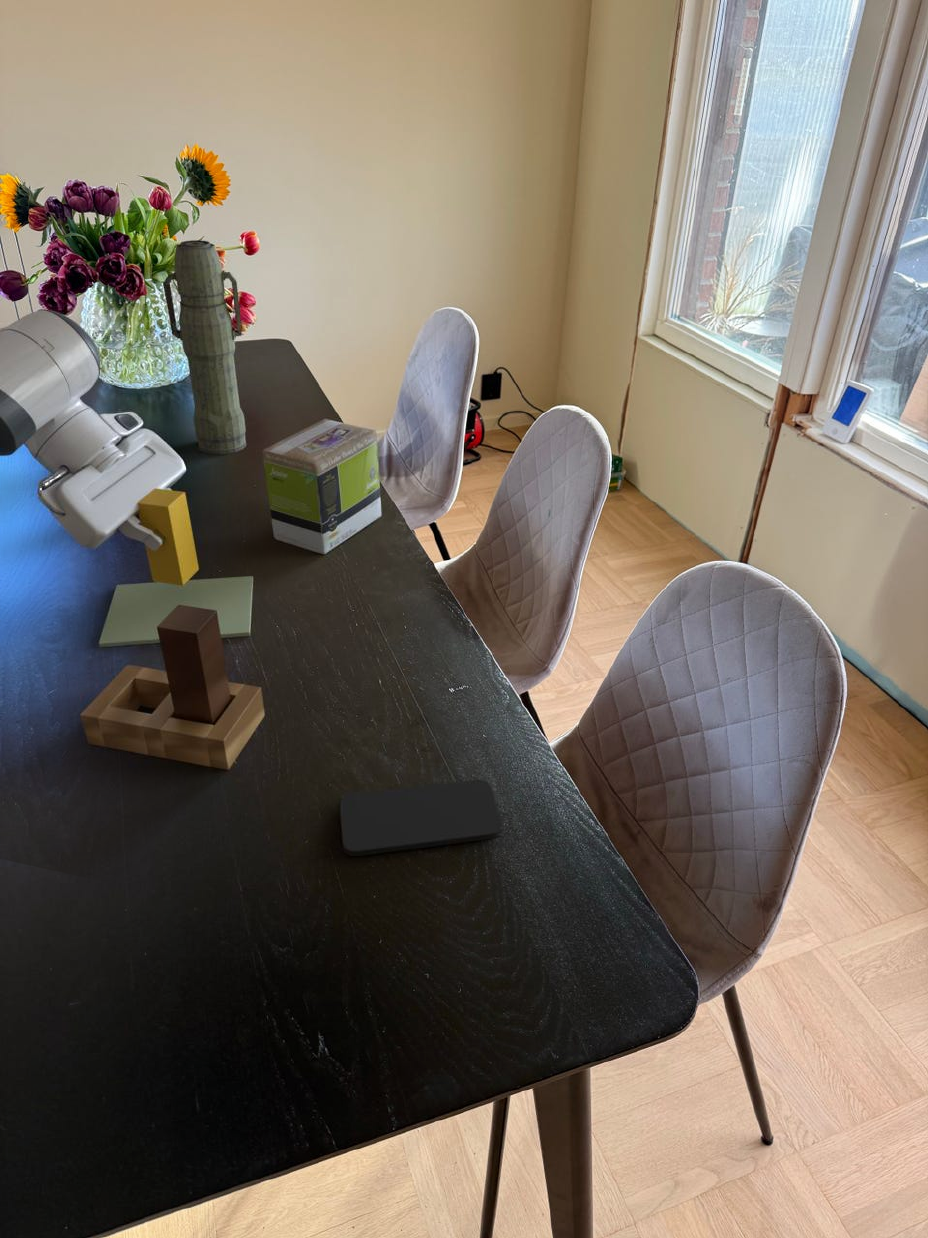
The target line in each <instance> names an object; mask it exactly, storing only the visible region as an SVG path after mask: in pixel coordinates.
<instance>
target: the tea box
mask: <svg viewBox="0 0 928 1238" xmlns="http://www.w3.org/2000/svg"><path fill="white" fill-rule="evenodd" d="M262 456H263V457H262V459H263V466H264V473H265V479H266V489H267V494H268V503H269V511H270V518H271V526H272V533H273V538H274V539H275V540H277V541H279V542H283V543H285V544H289V545H292V546H295V547H297V548H301V549H304V550H307V551H311V552H314V553H318V554H321V555H326V554H327V553H329V552H330V551H332V550H333V549H335V548H336V547H338V546H339V545H340V544H342V543H343V542H345V541H347V540H348V539H349V538H351V537H352V536H354V535H356V534H357V533H359V532H360V531H362V530H363V529H364V528H365V527H366V528H367V526H369V525H370V524H371V523H374V521H376V520H378V519H379V518H381V517H382V500H381V486H380V485H381V484H380V482H381V481H380V467H379V466H380V465H379V453H378V437H377V430H376V429H372V428H368V427H362V426H358V425H353V424H350V423H345V422H340V421H336V420H331V419H328V418H324V419H322V420H319V421H318V422H316V423H313V424H312V425H310V426H308V427H305V428H304V429H302V430H300V431H298V432H296V433H294V434H292V435H290V436H288V437H286V438H284V439H282V440H280V441H278V442H276V443H274V444H272V445H271V446H269V447H266V448H264V449H262Z"/></svg>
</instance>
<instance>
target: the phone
mask: <svg viewBox="0 0 928 1238" xmlns="http://www.w3.org/2000/svg"><path fill="white" fill-rule="evenodd" d="M499 812H500V811H499V809H498V805H497V802H496V798H495V794H494V792H493V788H492V785H491V784H490V783H489V781H487V780H484V779H471V780H461V781H454V782H445V783H438V784H436V783H435V784H430V785H429V784H428V785H421V786H410V787H403V788H395V789H387V790H378V791H369V792H360V793H353V794H348V795H345V796H343V797H342V798H341V799H340V801H339V818H340V819H339V821H340V831H341V842H342V850H343V852H344V853H345V854H346V855H348V856H350V857H363V856H369V855H377V854H384V853H392V852H402V851H407V850H415V849H424V848H430V847H439V846H447V845H453V844H454V845H456V844H463V843H470V842H477V841H485V840H492V839H495V838H497V837H499V836H500V835H501V833H502V830H503V829H502V827H503V824H502V820H501V816H500V813H499Z"/></svg>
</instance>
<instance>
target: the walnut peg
mask: <svg viewBox="0 0 928 1238" xmlns="http://www.w3.org/2000/svg"><path fill="white" fill-rule="evenodd" d="M157 630H158V635H159V640H160V643H159V644H160V649H161V654H162V658H163V659H162V660H163V663H164V667H165V671H166V674H167V678H168V683H169V688H170V693H171V697H172V702H173V707H174V712H175V717H176V719H182V720H188V721H193V722H199V723H204V724H210V725H215V724H216V723H217V721H218V720H219V719H220V717H221V716H222V714H223V713H224V712H225V710H226V709H227V708H228V706H229V705H230V703H231V696H230V690H229V684H228V682H229V677H228V671H227V665H226V659H225V653H224V647H223V641H222V638H221V634H220V627H219V621H218V615H217V610H211V609H204V608H198V607H191V606H185V605H177V606H176V607H175V609H174V610H173V611H172V612H171V613H170V614H169V615H168V616H167V617H166V618H165V619H164V620H163V621H162V622H161V623H160V624H159V625H158V626H157Z"/></svg>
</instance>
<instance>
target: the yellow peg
mask: <svg viewBox="0 0 928 1238" xmlns="http://www.w3.org/2000/svg"><path fill="white" fill-rule="evenodd" d="M186 495H187V494H186V492H185V491H178V490H173V489H171V490H164V489H156V488H155V489H154V490H152V491H151V492H150V493H149V494H147V495H146V496H145V497H144V498H142V499H141V500H140V501H139V502H137V503H138V505H139V506H140V509H139V510H138V514H137V515H138V520H140V523H139V524H140V525H141V526H143V527H145V528H147V529H149V530H151V531H154V530H155V529H157V530H158V531H159V532H160V533H161V534H162V535H164V536H165V538H166V541H165V542H164V543H163V544H162V545H161V546H160V547H159V548H158V549H157V550H156V551H153V550H151V549H150V548H149V547H148V546H147V545H146V544H145V543H144V546H145V551H146V555H147V556H146V557H147V560H148V564H149V569H150V573H151V578H152V582H153V583H155V582H161V583H168V584H175V585H182V586H183V585H184V584H185V583H186V582H187V581H188V580H191V579H192V577H193V576H194V575H195V574H196V573H197V572H198V571H200V570H199V569H200V568H199V562H198V556H197V551H196V545H195V539H194V535H193V529H192V522H191V518H190V513H189V512H190V511H189V506H188V501H187V496H186Z"/></svg>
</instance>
